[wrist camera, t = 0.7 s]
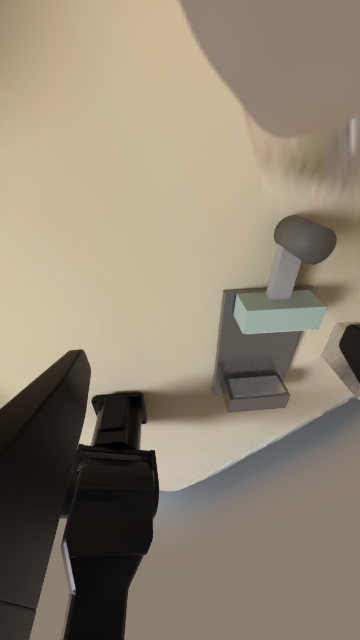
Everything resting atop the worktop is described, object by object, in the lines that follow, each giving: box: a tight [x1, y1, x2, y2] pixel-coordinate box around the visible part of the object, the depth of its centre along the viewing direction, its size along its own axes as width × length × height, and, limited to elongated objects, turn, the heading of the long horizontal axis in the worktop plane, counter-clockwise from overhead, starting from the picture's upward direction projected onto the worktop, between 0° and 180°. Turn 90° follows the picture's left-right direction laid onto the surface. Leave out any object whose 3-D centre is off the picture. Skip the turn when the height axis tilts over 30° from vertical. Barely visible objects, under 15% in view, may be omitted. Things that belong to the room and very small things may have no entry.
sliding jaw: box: [234, 215, 336, 334], centre depth 19 cm, size 9×7×4 cm
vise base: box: [212, 286, 317, 412], centre depth 25 cm, size 15×9×4 cm, turn 1°
